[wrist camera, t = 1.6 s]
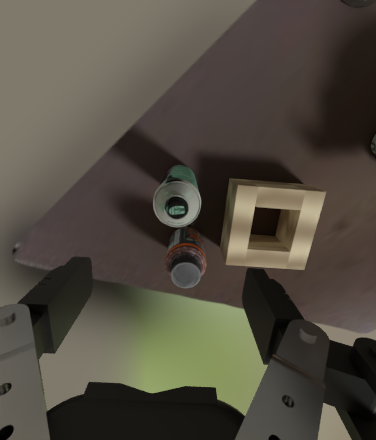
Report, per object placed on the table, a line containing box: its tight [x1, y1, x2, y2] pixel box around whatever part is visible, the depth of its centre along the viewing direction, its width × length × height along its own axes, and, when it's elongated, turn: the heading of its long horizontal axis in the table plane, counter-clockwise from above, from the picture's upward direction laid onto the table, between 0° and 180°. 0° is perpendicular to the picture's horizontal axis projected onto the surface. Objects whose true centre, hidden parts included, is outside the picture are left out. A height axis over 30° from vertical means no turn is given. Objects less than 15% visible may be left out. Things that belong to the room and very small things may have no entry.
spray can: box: [153, 165, 201, 227], centre depth 32 cm, size 6×6×20 cm
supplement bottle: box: [166, 226, 206, 288], centre depth 39 cm, size 7×7×13 cm
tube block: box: [220, 178, 326, 270], centre depth 41 cm, size 14×14×7 cm
